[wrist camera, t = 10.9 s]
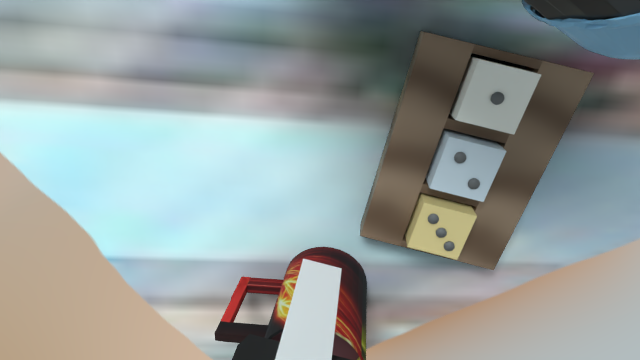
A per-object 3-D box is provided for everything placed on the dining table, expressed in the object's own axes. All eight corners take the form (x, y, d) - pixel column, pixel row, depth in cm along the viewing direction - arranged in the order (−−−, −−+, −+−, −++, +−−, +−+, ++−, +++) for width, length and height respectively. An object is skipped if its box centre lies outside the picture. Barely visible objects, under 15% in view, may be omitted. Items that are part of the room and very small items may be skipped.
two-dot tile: (441, 126, 35) (449, 137, 32) (494, 139, 35) (507, 151, 32) (424, 174, 37) (429, 189, 34) (473, 186, 37) (484, 203, 34)
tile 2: (467, 55, 33) (479, 59, 29) (524, 69, 32) (542, 74, 29) (447, 111, 35) (456, 120, 31) (500, 124, 34) (514, 135, 31)
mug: (241, 271, 45) (201, 351, 34) (346, 235, 42) (338, 312, 31) (278, 329, 48) (251, 420, 37) (379, 301, 45) (382, 392, 34)
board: (420, 31, 33) (424, 31, 30) (578, 69, 32) (594, 73, 30) (360, 223, 41) (360, 235, 38) (486, 256, 40) (493, 270, 38)
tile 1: (419, 187, 38) (424, 203, 34) (467, 199, 38) (477, 217, 34) (404, 228, 40) (407, 248, 36) (450, 240, 40) (457, 261, 36)
